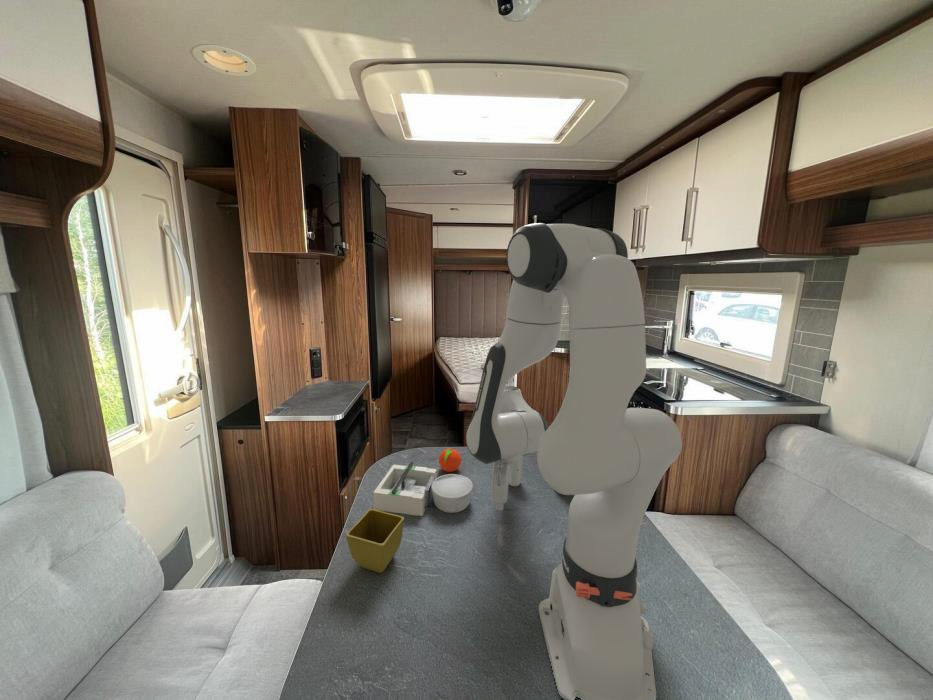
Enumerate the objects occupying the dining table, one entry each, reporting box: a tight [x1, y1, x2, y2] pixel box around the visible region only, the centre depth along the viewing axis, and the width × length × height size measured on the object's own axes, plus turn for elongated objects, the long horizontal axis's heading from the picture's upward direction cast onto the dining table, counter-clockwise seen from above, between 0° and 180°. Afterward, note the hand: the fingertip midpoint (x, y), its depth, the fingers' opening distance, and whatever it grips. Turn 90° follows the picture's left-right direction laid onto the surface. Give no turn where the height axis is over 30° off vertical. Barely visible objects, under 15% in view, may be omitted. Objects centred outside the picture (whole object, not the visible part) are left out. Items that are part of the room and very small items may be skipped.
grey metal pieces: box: [391, 461, 435, 508], centre depth 99 cm, size 15×10×6 cm
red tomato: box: [438, 447, 462, 473], centre depth 112 cm, size 8×7×7 cm
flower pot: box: [345, 508, 405, 574], centre depth 76 cm, size 9×9×9 cm
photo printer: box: [508, 454, 524, 487], centre depth 108 cm, size 10×4×12 cm, turn 28°
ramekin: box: [431, 473, 474, 514], centre depth 97 cm, size 11×11×5 cm
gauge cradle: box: [372, 464, 438, 517], centre depth 99 cm, size 14×13×5 cm
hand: (501, 497), depth 94 cm, fingers open, 8 cm apart
